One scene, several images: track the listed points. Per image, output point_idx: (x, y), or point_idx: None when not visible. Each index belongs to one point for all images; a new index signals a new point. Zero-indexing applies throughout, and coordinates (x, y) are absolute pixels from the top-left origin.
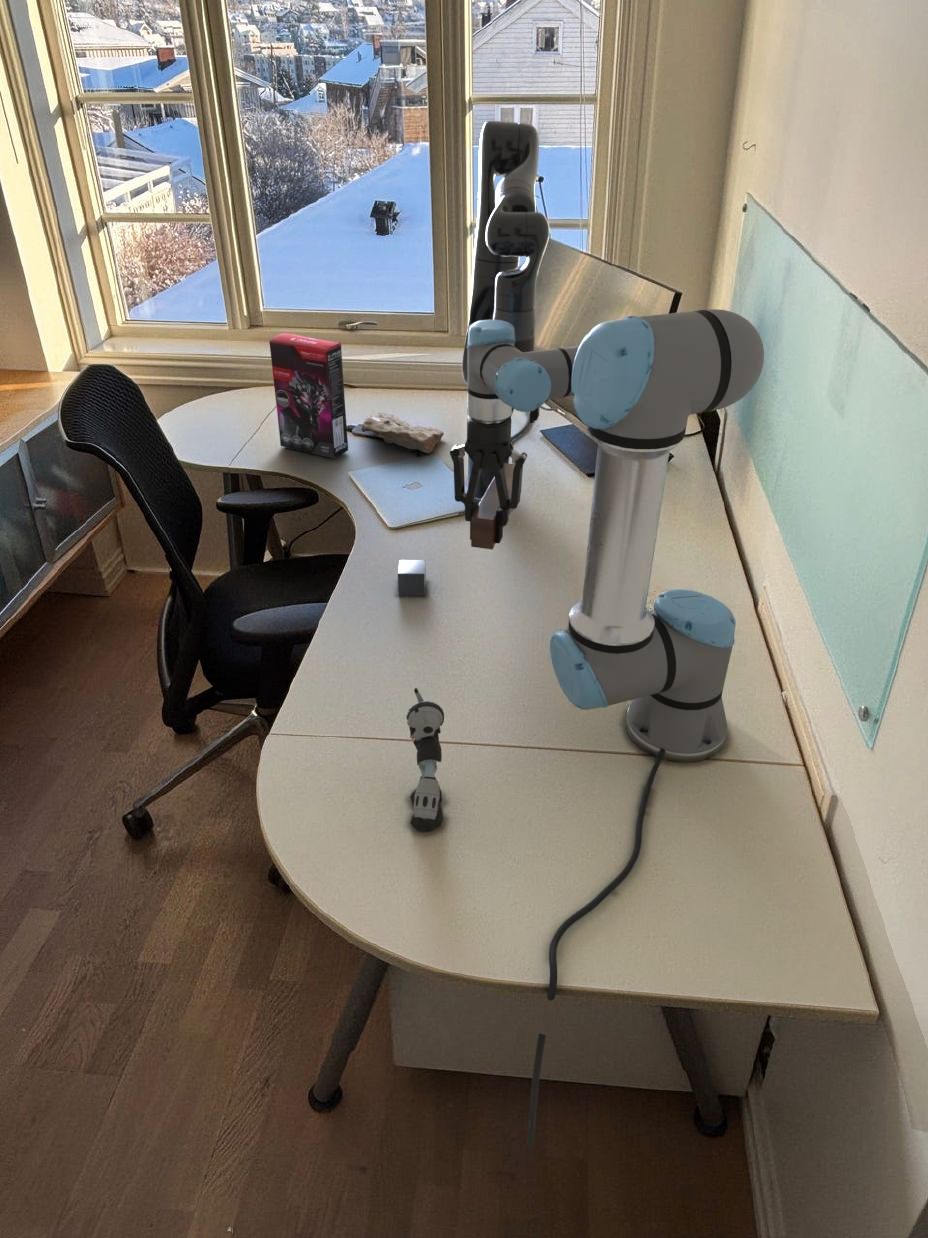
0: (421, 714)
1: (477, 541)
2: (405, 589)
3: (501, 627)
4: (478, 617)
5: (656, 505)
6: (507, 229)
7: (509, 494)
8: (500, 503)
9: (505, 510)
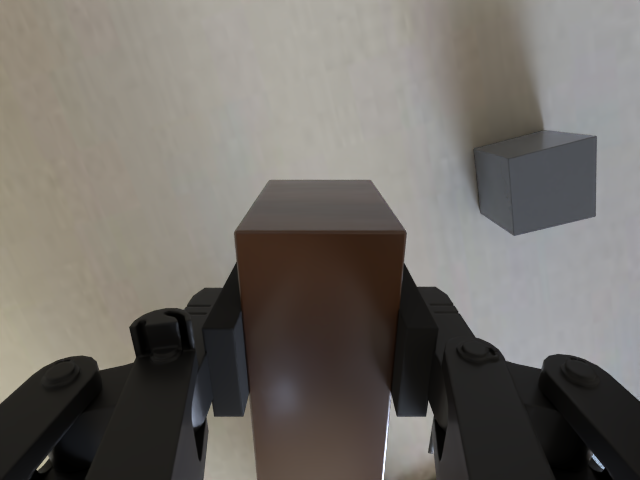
0: None
1: (342, 187)
2: (536, 137)
3: (237, 52)
4: (310, 85)
5: None
6: None
7: None
8: (179, 379)
9: (138, 322)
